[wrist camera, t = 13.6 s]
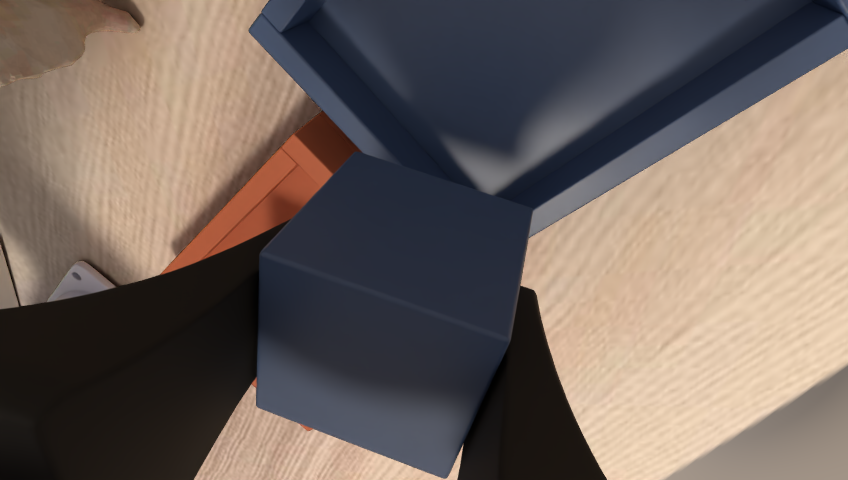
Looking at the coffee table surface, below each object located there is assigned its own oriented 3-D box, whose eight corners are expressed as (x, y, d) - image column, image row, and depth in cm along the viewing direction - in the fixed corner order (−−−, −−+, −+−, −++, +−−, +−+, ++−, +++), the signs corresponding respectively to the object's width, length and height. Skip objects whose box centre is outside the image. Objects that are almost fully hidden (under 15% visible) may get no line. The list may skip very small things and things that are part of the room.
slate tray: (484, 234, 20) (473, 271, 18) (285, 16, 17) (246, 30, 15) (853, 0, 13) (902, 16, 11) (618, -417, 11) (626, -493, 9)
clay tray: (327, 394, 28) (308, 431, 26) (176, 262, 26) (141, 293, 24) (505, 300, 21) (496, 341, 19) (324, 108, 19) (293, 133, 17)
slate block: (481, 336, 14) (446, 481, 11) (335, 285, 15) (254, 408, 11) (534, 207, 12) (511, 341, 8) (355, 148, 12) (257, 251, 9)
